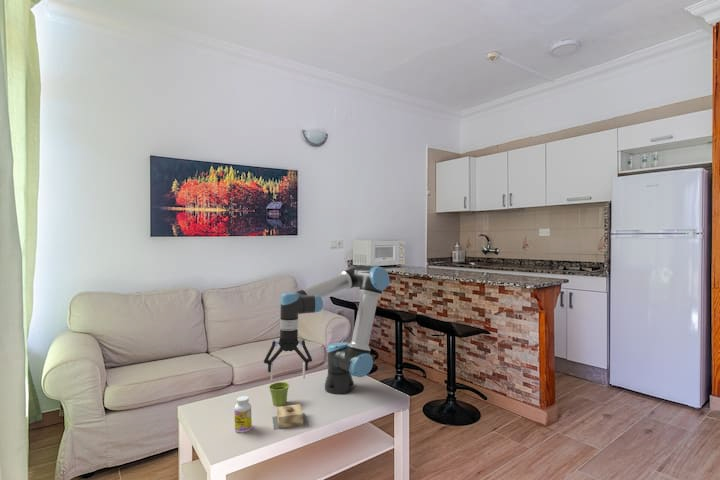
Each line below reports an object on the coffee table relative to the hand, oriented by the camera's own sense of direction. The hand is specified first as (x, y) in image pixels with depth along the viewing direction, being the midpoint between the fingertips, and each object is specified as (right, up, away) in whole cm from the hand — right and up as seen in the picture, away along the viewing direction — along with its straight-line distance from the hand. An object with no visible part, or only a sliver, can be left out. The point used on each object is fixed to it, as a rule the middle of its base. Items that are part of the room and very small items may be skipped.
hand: (287, 378), depth 169 cm
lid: (+1, -18, -1) cm, 18 cm away
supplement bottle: (-17, -19, -7) cm, 26 cm away
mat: (+1, -18, -1) cm, 18 cm away
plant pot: (-7, -18, +17) cm, 25 cm away
